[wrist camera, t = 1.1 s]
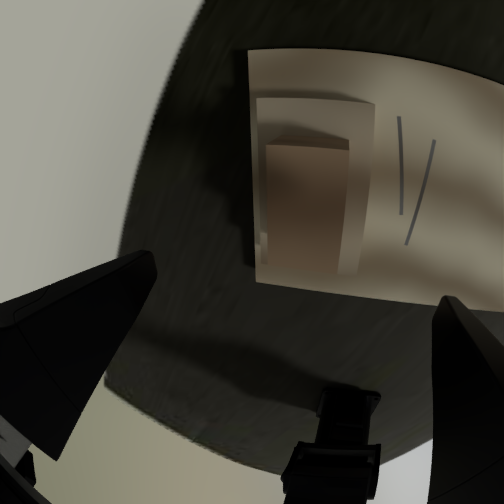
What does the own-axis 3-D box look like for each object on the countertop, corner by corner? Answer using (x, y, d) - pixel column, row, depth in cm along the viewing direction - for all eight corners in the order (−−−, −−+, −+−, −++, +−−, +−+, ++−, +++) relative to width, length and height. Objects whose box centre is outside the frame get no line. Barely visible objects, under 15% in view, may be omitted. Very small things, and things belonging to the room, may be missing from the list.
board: (523, 303, 17) (529, 313, 16) (261, 270, 24) (256, 281, 22) (573, 122, 9) (584, 126, 8) (255, 53, 15) (247, 50, 14)
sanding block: (356, 259, 19) (355, 308, 15) (268, 248, 20) (245, 292, 16) (371, 103, 14) (382, 106, 10) (266, 97, 15) (235, 99, 11)
